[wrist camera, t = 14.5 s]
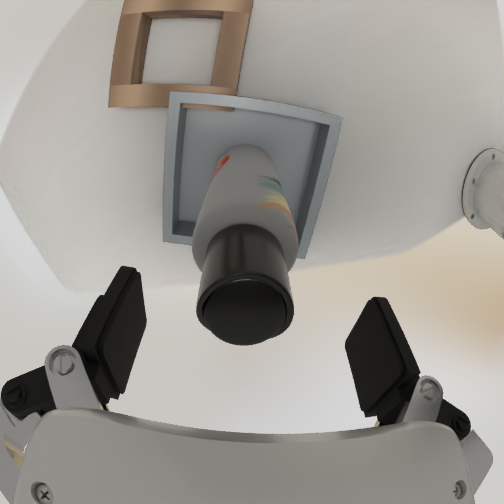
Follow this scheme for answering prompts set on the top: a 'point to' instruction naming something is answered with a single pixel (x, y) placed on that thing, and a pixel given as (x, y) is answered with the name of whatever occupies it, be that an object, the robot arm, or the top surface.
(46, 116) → the top surface
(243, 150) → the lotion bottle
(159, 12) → the socket stand
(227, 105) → the tray
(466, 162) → the top surface
